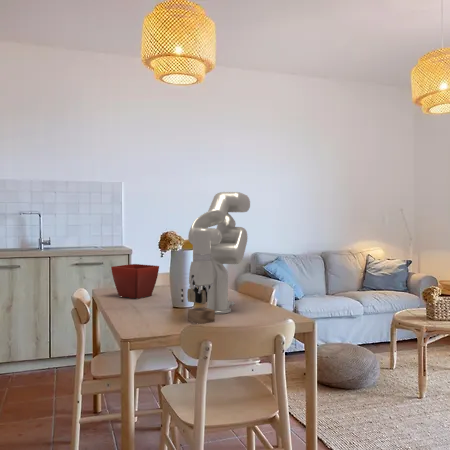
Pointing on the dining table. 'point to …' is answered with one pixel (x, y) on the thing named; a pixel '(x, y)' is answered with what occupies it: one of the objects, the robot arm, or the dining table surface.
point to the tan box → (201, 315)
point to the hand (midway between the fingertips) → (201, 301)
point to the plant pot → (135, 279)
